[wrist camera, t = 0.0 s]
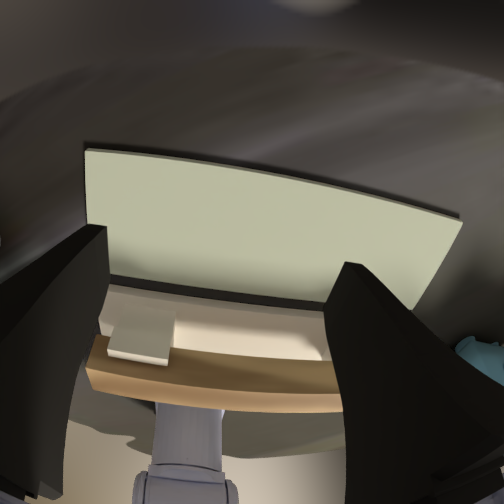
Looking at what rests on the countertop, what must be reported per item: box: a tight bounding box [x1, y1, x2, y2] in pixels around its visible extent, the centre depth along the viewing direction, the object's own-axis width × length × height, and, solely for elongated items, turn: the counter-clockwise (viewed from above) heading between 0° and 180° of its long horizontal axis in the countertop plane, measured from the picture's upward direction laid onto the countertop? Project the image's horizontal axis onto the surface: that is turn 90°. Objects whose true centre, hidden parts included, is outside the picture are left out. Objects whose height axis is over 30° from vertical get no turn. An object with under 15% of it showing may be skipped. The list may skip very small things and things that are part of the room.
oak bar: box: [85, 334, 343, 413], centre depth 22 cm, size 3×24×3 cm, turn 78°
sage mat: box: [85, 148, 463, 310], centre depth 21 cm, size 9×26×1 cm, turn 78°
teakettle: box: [455, 336, 504, 386], centre depth 28 cm, size 19×19×15 cm
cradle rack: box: [98, 284, 332, 366], centre depth 24 cm, size 6×26×6 cm, turn 78°
